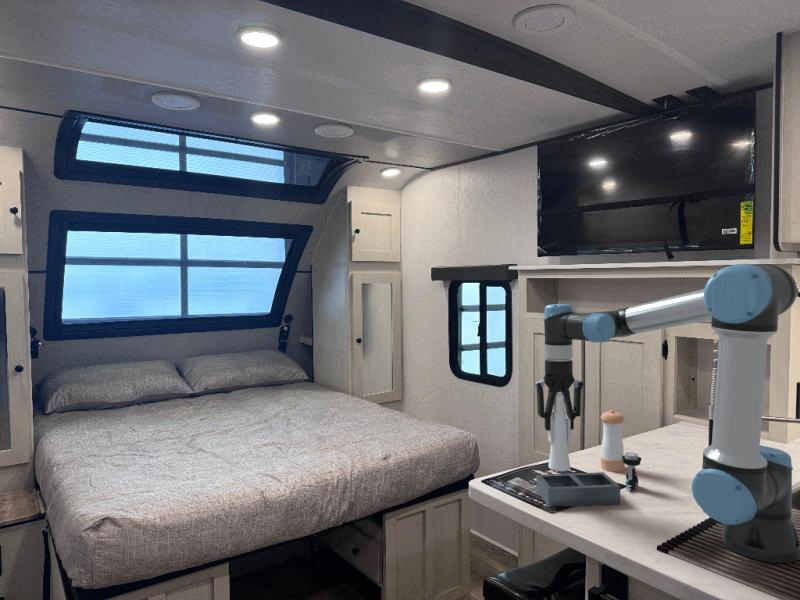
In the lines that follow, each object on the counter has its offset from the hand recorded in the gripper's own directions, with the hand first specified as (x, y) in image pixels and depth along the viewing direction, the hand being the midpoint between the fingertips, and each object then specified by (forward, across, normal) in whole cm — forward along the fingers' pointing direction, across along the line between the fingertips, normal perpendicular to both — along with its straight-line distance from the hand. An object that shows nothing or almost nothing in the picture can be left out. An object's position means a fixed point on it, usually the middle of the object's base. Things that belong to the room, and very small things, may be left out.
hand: (559, 441), depth 153 cm
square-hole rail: (+16, -5, 0) cm, 17 cm away
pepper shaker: (+17, -25, -22) cm, 37 cm away
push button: (+17, -23, -5) cm, 29 cm away
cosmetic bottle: (+8, 0, 0) cm, 8 cm away
